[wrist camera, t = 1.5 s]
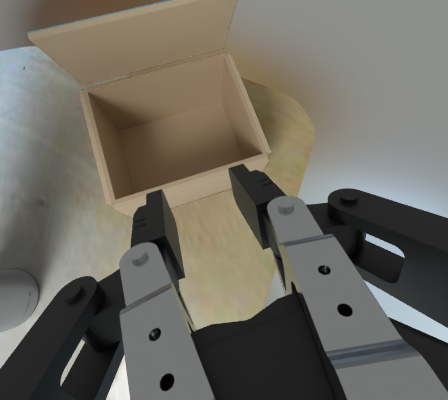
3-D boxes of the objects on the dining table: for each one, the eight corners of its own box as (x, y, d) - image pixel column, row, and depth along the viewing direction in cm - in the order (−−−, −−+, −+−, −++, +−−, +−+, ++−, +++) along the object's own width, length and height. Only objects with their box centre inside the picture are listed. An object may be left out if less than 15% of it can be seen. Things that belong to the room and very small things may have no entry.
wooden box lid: (240, -9, 25) (238, -16, 25) (29, 40, 23) (26, 32, 23) (223, 49, 37) (221, 44, 37) (83, 85, 35) (81, 80, 35)
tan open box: (258, 183, 46) (274, 158, 34) (137, 222, 43) (108, 211, 31) (226, 99, 49) (229, 51, 37) (112, 131, 47) (77, 90, 35)
